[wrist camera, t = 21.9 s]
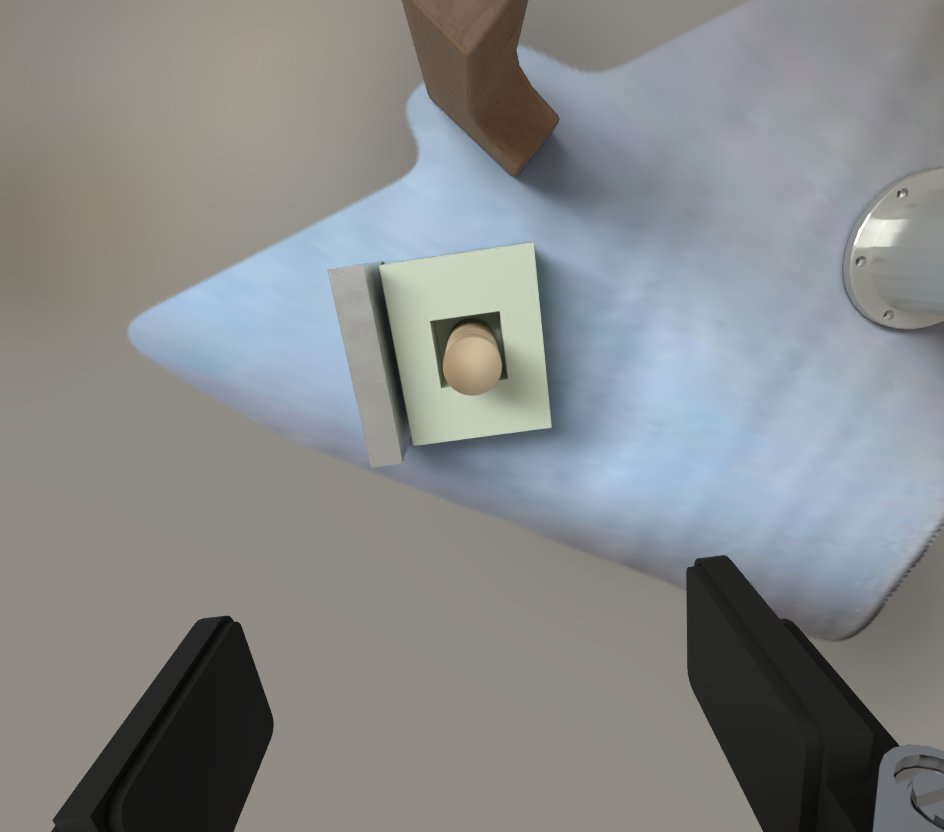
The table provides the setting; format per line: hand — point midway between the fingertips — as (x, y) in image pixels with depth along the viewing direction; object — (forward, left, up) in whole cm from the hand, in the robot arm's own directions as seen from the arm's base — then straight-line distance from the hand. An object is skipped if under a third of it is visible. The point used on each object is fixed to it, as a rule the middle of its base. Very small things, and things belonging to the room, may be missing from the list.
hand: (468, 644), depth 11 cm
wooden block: (-4, -17, -36) cm, 40 cm away
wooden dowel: (0, 0, -36) cm, 36 cm away
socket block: (0, 0, -36) cm, 36 cm away
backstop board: (+8, 0, -36) cm, 37 cm away
